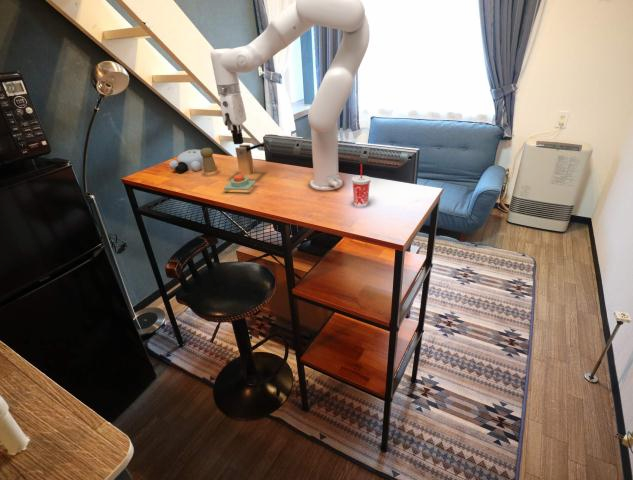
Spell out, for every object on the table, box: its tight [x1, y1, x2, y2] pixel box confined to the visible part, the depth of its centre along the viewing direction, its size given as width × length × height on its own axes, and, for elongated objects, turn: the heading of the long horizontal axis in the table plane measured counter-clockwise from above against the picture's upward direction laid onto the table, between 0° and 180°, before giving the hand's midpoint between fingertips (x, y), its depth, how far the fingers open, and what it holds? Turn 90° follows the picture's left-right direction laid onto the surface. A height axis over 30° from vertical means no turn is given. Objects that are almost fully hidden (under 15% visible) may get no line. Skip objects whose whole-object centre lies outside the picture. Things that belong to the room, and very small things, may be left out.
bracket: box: [235, 144, 255, 176], centre depth 142 cm, size 12×9×13 cm
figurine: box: [168, 149, 204, 175], centre depth 156 cm, size 17×8×20 cm
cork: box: [200, 147, 218, 173], centre depth 149 cm, size 6×6×11 cm
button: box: [233, 174, 245, 182], centre depth 131 cm, size 4×4×2 cm
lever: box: [245, 139, 269, 153], centre depth 139 cm, size 12×5×2 cm, turn 77°
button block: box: [223, 176, 257, 195], centre depth 132 cm, size 10×8×4 cm
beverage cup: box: [351, 163, 371, 208], centre depth 112 cm, size 6×6×14 cm
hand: (238, 143), depth 126 cm, fingers closed
